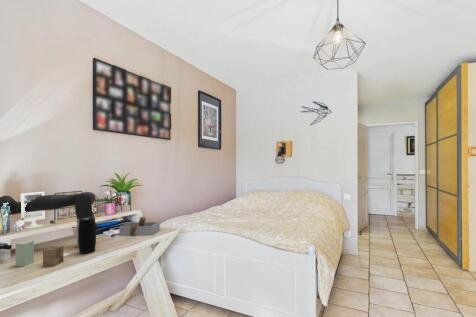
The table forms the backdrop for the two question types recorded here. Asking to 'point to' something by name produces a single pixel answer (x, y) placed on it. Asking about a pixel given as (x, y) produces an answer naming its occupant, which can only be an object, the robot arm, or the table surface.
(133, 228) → the wooden block set
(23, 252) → the sage brick
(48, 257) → the walnut brick
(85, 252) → the portable speaker
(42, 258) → the page
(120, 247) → the table surface
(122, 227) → the organizer tray
